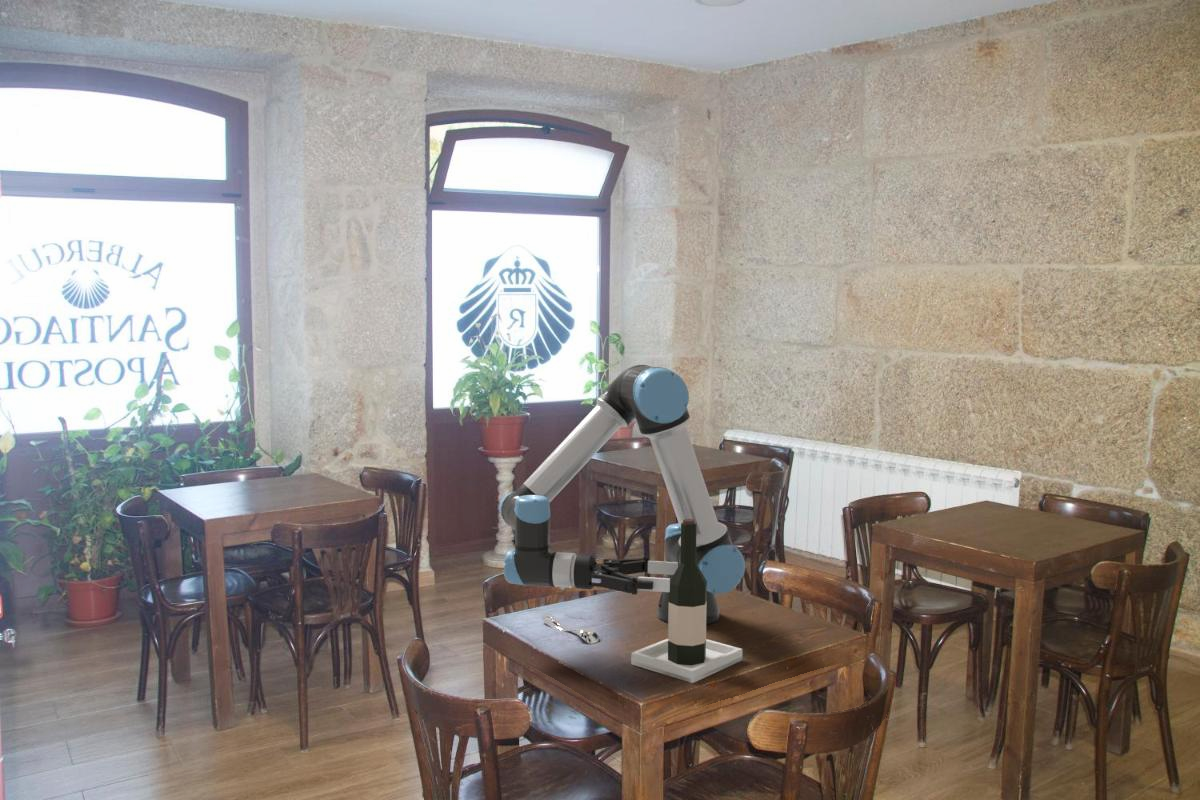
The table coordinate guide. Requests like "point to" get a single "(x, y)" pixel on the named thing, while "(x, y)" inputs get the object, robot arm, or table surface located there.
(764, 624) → the table surface
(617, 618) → the table surface
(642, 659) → the serving tray
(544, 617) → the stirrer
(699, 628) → the wine bottle
